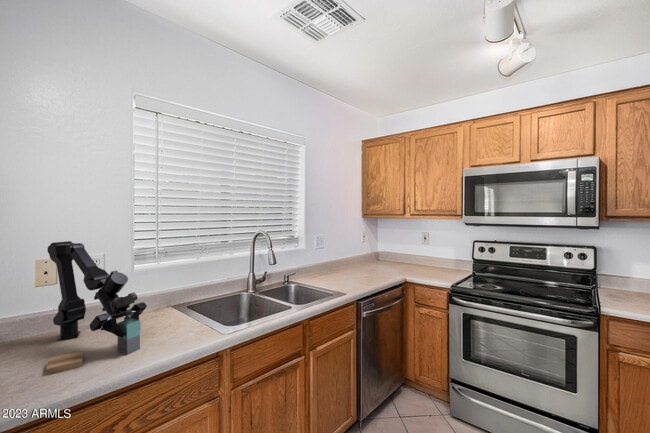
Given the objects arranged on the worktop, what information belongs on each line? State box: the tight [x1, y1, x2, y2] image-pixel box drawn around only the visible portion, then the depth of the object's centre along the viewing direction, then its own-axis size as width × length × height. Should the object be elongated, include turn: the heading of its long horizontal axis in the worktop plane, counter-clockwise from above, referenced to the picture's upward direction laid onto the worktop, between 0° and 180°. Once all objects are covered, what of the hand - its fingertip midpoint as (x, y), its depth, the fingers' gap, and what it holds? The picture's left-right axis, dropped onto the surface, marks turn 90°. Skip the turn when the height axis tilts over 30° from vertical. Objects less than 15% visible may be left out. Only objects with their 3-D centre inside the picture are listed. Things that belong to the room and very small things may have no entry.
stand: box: [45, 350, 84, 376], centre depth 103 cm, size 9×9×2 cm
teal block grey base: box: [117, 318, 141, 355], centre depth 114 cm, size 5×5×11 cm
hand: (131, 333), depth 113 cm, fingers open, 6 cm apart
